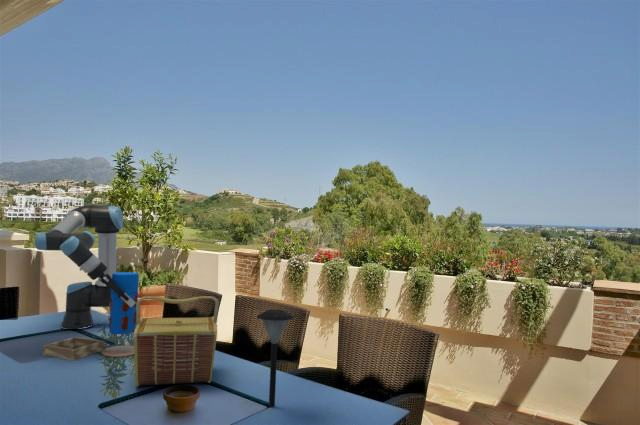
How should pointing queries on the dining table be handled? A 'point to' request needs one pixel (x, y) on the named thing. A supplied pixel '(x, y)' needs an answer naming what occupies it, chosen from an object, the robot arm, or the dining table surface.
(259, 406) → the dining table surface
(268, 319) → the solar garden light
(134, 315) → the thermos
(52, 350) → the square frame
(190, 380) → the picnic basket
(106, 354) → the saucer
